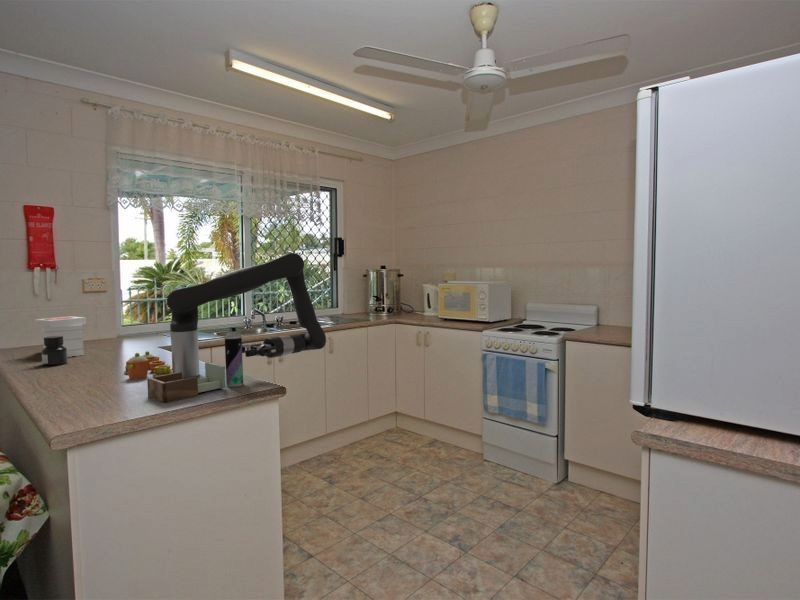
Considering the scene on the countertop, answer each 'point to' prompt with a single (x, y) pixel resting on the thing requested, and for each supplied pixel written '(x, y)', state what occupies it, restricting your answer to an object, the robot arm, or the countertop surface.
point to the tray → (212, 378)
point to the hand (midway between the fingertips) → (239, 352)
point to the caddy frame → (172, 387)
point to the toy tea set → (146, 366)
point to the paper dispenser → (65, 332)
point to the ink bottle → (54, 351)
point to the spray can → (233, 358)
